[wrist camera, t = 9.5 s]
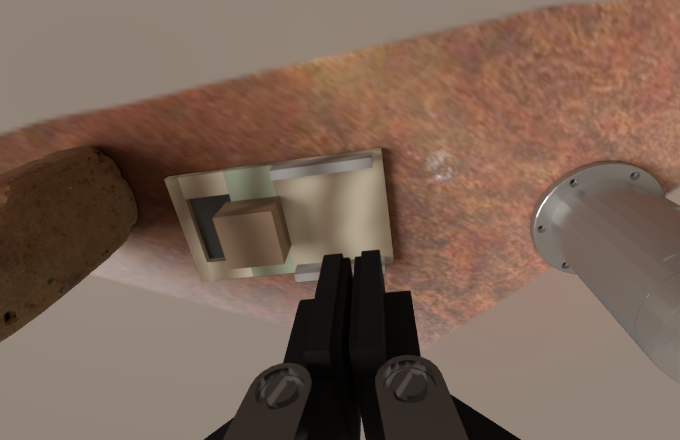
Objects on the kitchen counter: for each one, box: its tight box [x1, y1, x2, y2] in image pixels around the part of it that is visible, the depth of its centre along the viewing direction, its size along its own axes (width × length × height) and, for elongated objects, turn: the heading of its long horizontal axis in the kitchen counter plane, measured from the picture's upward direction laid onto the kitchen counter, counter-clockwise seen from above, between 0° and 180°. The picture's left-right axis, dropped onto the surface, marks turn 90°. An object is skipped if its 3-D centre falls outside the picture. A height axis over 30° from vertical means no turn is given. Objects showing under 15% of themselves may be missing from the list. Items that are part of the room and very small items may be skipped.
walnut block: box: [212, 196, 291, 270], centre depth 41 cm, size 6×6×4 cm
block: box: [0, 146, 138, 342], centre depth 34 cm, size 11×8×20 cm
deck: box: [164, 148, 394, 282], centre depth 42 cm, size 23×13×3 cm, turn 99°
